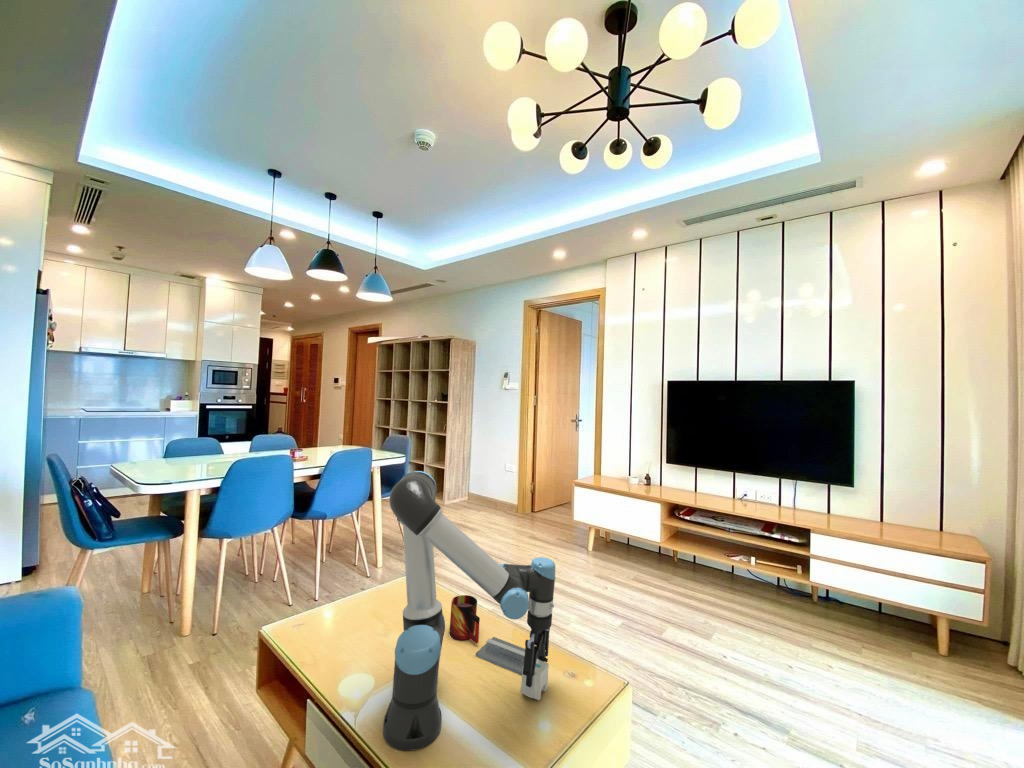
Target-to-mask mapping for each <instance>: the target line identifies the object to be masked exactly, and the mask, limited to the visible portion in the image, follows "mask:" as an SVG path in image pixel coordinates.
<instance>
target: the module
mask: <svg viewBox="0 0 1024 768" xmlns="http://www.w3.org/2000/svg"><path fill="white" fill-rule="evenodd" d="M549 665H550V663H548V662H543V661H541V660H538V659H537V661H536V666H535V672H534V674H536V675H535V687H534V697H533V698H532V699H535V700H537V701H540V700H541V698H542V691H543V692H546V691H547V690H548V681H549V679H548V678H549V668H550V667H549ZM525 682H526V675H523V670H522V675H521V685H520V693H521V694H523V695H524V694H525Z"/></svg>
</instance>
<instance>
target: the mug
mask: <svg viewBox="0 0 1024 768" xmlns="http://www.w3.org/2000/svg"><path fill="white" fill-rule="evenodd" d="M477 609H478V599H477V598H476V597H474V596H472V595H467V594H461V595H460V594H459V595H456V596H454V597H453V598H452V599H451V607H450V620H449V633H448V635H449V634H450V635H449V637H450V636H451V637H450V638H451V639H452V638H453V640H454V639H455V641H456V642H457V641H458V642H466V641H470V640H471V641H472V642H474V644H479V639H480V638H479V637H480V635H479V634H480V632H479V631H480V621H481V620H480V618H481V617H480V616H478V615H477Z"/></svg>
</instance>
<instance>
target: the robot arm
mask: <svg viewBox="0 0 1024 768" xmlns="http://www.w3.org/2000/svg"><path fill="white" fill-rule="evenodd" d="M437 491H438V488H437V484H436V481H435V479H434V477H432V476H431V475H430V474H429V473H428V472H425V471H422V470H415V471H411V472H408V473H406V474H405V475H403V476H402V477H401V479H400V480H399V481H398V482H397V483H395V485H394V486H393V487H392V489H391V491H390V494H389V498H388V499H389V506H390V509H391V512H392V513H393V515H394V516H395V517H396V518H397V519H396V520H397V522H398V523H399V524H401V526H402V532H403V548H404V550H403V551H404V553H403V554H404V566H405V567H404V569H405V583H406V587H405V588H406V601H407V604H406V606H405V607H404V608H403V610H402V622H403V624H402V626H403V627H402V628H403V631H402V633H401V634H400V635H399V636H398V638H397V640H396V645H395V648H394V667H393V668H394V669H393V680H392V681H393V683H392V693H391V699H390V702H389V705H388V707H387V709H386V713H385V715H384V718H383V722H382V736H383V739H384V741H385V742H386V743H387V744H388V745H389V746H390V747H392V748H394V749H396V750H400V751H416V750H419V749H422V748H424V747H427V746H428V745H430V744H431V743H432V742H433V741H435V740H436V739H437V738H438V736H439V734H440V732H441V729H442V721H443V719H442V718H443V716H442V711H441V708H440V705H439V697H438V684H439V683H438V682H439V669H440V661H441V655H442V654H441V653H442V649H443V648H442V646H443V642H444V635H445V632H446V619H445V616H444V613H443V605H442V602H441V601H440V600H439V599H437V588H436V585H437V584H436V572H435V571H436V569H435V554H434V547H435V548H436V549H437V550H438V551H439V552H441V554H443V555H444V556H445V557H446V558H447V559H448V560H449V561H451V562H452V563H453V564H454V565H455V566H456V567H458V569H460V570H461V571H462V572H463V573H465V575H466V576H468V577H469V578H470V579H471V580H472V581H473V582H474V583H475V584H476V585H478V587H480V588H481V589H482V590H483V591H484V592H485V593H487V594H488V595H489V596H490V597H491V598H492V599H493V600H494V601H495V602H496V603H498V605H499V606H500V610H501V611H502V613H503V615H504V616H505V617H506V618H507V619H510V620H519V619H522V618H523V617H524V616H525V615H526V613H527V617H526V624H527V625H528V627H529V628H530V629H531V630H530V633H529V639H525V643H524V644H525V645H524V647H525V648H524V649H525V657H524V666H523V675H526V682H525V694H523V695H524V696H525V697H526V696H527V697H529V698H530V699H534V698H533V697H534V687H535V675H536V674H534V672H535V666H536V661H537V659H539V660H541V661H543V662H546V663H548V661H549V658H547V657H548V656H549V645H550V642H549V641H550V629H551V627H552V622H553V608H554V607H555V604H554V592H555V584H556V583H555V582H556V563H555V562H554V561H553V560H552V559H550V558H548V557H543V556H540V557H534V558H533V559H532V560H531V563H530V564H525V565H524V564H512V563H498V562H497V561H496V560H495V559H494V558H493V557H491V556H490V555H489V554H488V553H487V552H486V551H485V550H483V549H482V548H481V547H480V546H479V545H478V544H477V543H476V542H475V541H473V540H472V538H470V537H469V536H468V535H467V534H466V533H464V532H463V531H462V530H461V529H460V528H459V527H458V526H457V525H456V524H455V523H453V522H452V521H451V519H449V518H448V517H447V516H446V515H445V514H443V509H442V506H440V505H439V504H438V503H437V501H436V495H437ZM528 593H529V594H528Z"/></svg>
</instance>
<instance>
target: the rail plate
mask: <svg viewBox="0 0 1024 768" xmlns="http://www.w3.org/2000/svg"><path fill="white" fill-rule="evenodd" d="M475 657H477V658H479V659H482V660H484V661H486V662H489V663H491V664H494V665H496V666H498V667H501V668H504V669H506V670H507V671H511V672H513V673H514V674H517V673H518V675H519V676H522V670H523V666H524V657H525V648H524V647H521V646H520V645H516V644H514V643H511V642H508V641H506V640H503V639H501V638H498V637H495V636H492V637H491V638H488V639H486V641H485V644H484V645H483V646H481V648H480V649H479V650H477V651H476V652H475ZM538 660H539V659H538Z"/></svg>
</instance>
